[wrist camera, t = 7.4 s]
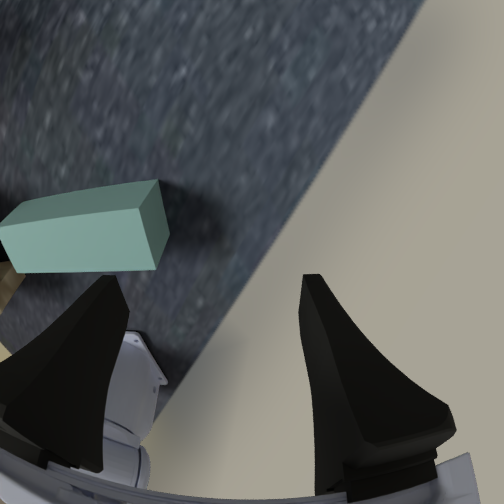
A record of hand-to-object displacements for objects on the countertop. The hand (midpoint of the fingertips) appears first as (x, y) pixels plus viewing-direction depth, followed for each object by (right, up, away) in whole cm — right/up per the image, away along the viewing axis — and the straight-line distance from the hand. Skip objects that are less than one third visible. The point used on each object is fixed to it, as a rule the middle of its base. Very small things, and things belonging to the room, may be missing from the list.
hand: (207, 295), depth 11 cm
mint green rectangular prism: (-10, +4, +8) cm, 13 cm away
